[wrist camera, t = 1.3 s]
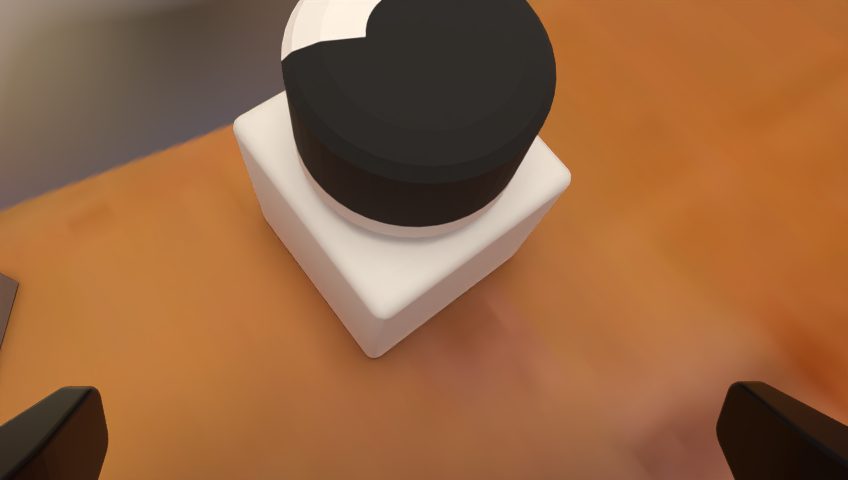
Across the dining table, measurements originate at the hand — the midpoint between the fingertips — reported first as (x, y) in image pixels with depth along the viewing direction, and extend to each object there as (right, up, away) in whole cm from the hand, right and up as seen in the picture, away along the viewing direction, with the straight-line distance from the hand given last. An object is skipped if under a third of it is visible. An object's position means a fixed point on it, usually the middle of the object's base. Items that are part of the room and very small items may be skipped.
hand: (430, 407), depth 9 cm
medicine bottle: (-1, +3, +15) cm, 16 cm away
